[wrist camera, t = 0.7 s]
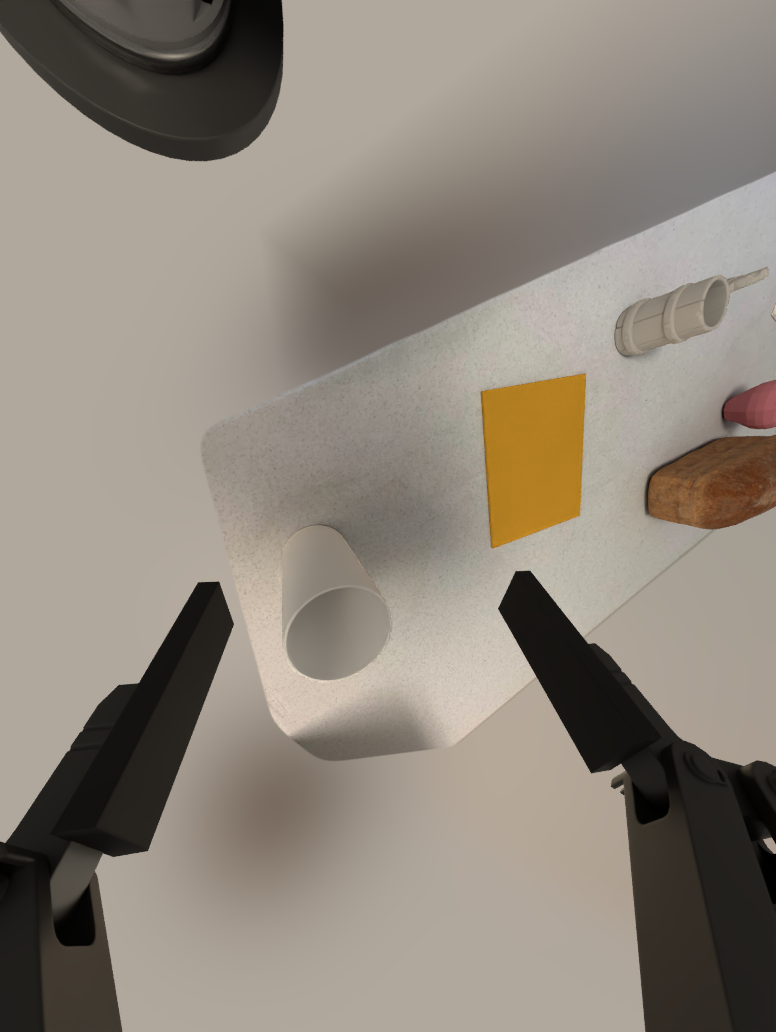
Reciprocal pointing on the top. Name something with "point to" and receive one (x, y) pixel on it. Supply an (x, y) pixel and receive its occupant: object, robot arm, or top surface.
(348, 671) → the cup
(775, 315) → the white holder stand
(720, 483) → the bread
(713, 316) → the mug
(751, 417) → the apple
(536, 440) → the cloth
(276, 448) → the top surface
